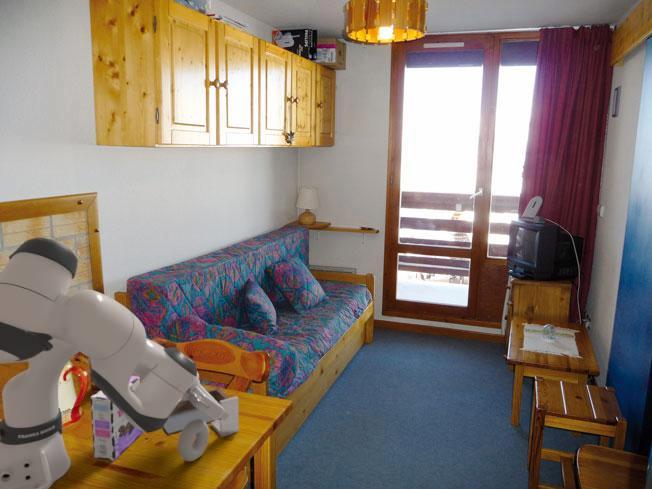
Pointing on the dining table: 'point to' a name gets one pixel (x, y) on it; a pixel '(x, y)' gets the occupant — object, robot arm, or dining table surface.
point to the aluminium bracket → (232, 421)
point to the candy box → (111, 426)
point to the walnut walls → (184, 405)
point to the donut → (186, 440)
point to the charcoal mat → (184, 419)
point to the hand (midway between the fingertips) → (218, 409)
